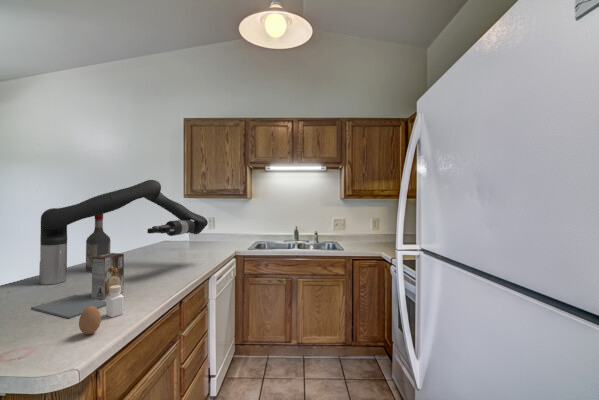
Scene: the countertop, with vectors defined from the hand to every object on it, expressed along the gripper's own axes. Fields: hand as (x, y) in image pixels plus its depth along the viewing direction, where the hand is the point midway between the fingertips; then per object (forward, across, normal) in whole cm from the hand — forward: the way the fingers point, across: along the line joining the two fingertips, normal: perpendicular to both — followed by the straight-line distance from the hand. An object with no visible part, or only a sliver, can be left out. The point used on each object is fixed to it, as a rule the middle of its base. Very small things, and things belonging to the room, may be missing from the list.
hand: (148, 231), depth 132 cm
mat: (+32, 0, +24) cm, 40 cm away
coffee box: (+19, 0, +24) cm, 30 cm away
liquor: (-5, -41, +24) cm, 48 cm away
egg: (+43, +26, +24) cm, 55 cm away
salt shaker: (+31, +20, +24) cm, 44 cm away
